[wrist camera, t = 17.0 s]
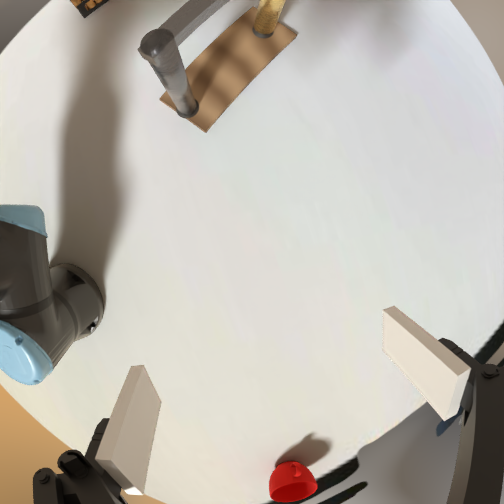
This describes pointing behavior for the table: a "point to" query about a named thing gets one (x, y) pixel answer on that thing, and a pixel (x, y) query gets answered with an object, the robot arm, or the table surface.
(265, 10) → the brass leg
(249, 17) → the walnut board
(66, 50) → the table surface
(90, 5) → the ammunition clip
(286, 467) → the ceramic cup
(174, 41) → the steel frame
